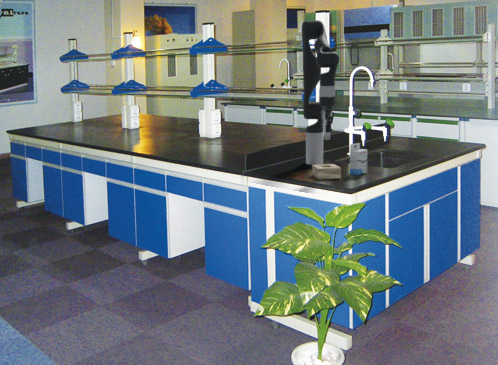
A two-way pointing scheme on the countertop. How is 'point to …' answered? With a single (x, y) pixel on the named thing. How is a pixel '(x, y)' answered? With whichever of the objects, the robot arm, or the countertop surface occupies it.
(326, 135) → the metal pin
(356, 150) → the ink box
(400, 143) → the countertop surface
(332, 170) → the hole block
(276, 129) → the countertop surface
